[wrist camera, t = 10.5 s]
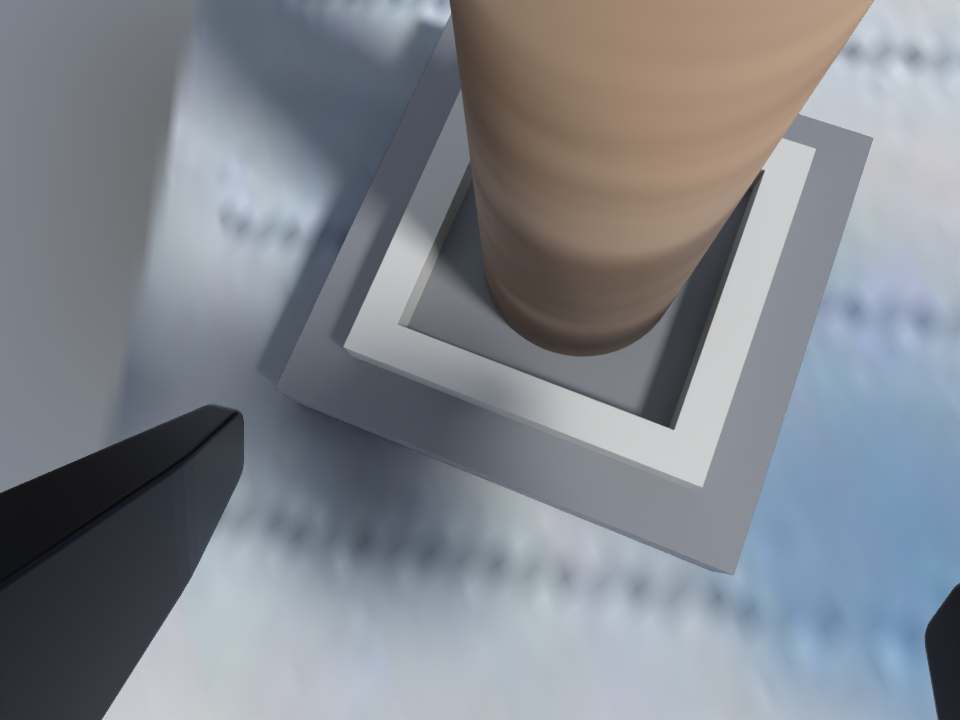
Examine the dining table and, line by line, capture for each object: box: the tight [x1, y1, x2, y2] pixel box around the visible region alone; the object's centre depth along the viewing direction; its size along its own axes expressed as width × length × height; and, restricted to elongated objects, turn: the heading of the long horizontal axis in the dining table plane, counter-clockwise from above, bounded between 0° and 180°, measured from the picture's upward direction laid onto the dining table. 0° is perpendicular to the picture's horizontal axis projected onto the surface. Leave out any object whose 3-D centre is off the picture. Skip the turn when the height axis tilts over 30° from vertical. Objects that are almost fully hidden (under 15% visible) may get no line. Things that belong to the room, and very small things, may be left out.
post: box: [450, 0, 874, 357], centre depth 12 cm, size 5×5×14 cm
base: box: [275, 14, 873, 575], centre depth 20 cm, size 12×12×3 cm
